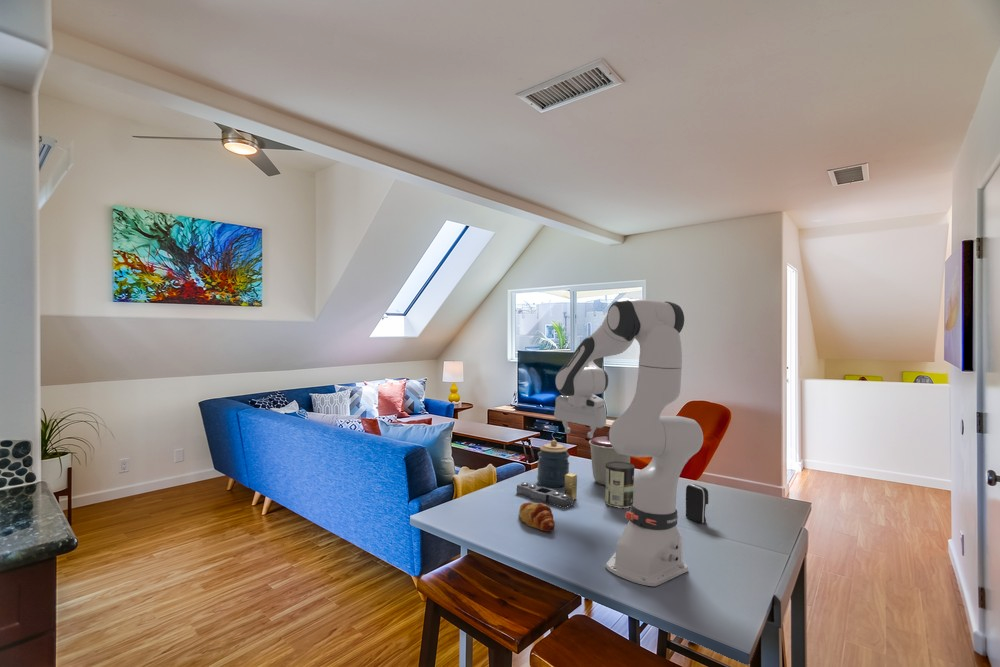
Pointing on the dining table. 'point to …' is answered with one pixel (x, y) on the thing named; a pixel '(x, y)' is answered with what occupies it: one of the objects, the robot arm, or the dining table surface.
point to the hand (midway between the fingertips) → (578, 435)
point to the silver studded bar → (544, 494)
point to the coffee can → (619, 484)
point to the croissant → (537, 516)
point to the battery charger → (696, 502)
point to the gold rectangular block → (571, 485)
